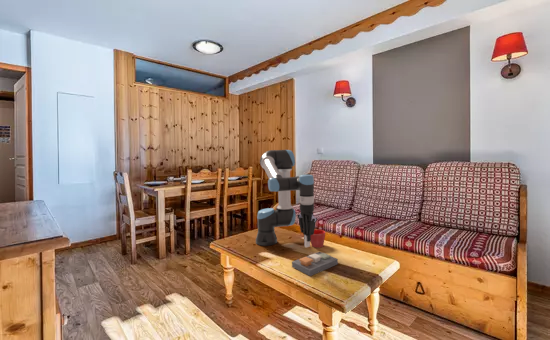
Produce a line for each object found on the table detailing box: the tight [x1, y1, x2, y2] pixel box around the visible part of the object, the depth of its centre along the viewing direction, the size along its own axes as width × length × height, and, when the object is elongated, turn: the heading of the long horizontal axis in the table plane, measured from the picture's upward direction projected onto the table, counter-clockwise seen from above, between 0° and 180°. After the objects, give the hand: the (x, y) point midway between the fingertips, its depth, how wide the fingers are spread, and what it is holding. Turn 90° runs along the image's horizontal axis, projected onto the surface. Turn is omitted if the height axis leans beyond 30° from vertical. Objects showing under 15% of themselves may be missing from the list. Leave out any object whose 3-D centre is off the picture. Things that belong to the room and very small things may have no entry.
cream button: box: [307, 253, 322, 263], centre depth 147 cm, size 5×5×3 cm
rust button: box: [298, 256, 313, 266], centre depth 142 cm, size 5×5×3 cm
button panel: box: [291, 251, 339, 277], centre depth 147 cm, size 14×22×3 cm, turn 128°
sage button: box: [318, 252, 331, 259], centre depth 151 cm, size 5×5×3 cm
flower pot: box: [310, 229, 326, 249], centre depth 176 cm, size 11×11×10 cm
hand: (307, 246), depth 142 cm, fingers closed
